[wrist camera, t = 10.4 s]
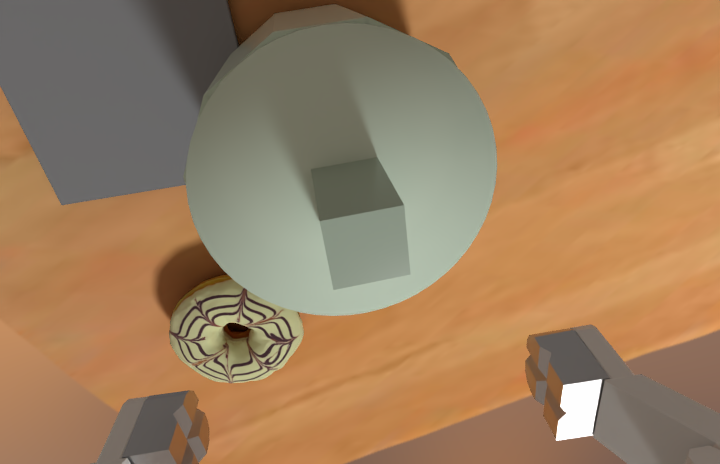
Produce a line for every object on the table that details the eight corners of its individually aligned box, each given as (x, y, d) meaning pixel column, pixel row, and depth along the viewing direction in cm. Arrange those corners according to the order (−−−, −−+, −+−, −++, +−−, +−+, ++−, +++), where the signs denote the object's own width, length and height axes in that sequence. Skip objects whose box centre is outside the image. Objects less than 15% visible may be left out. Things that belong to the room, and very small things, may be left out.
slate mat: (209, -74, 26) (207, -76, 26) (268, 168, 33) (268, 171, 33) (-55, -35, 26) (-62, -36, 25) (65, 201, 33) (61, 205, 32)
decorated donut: (325, 320, 41) (327, 350, 38) (233, 375, 43) (228, 407, 40) (250, 242, 37) (245, 267, 33) (151, 307, 38) (137, 337, 35)
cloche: (415, -9, 29) (572, 2, 13) (427, 192, 36) (539, 350, 20) (191, 26, 28) (83, 82, 12) (249, 226, 35) (226, 418, 19)
